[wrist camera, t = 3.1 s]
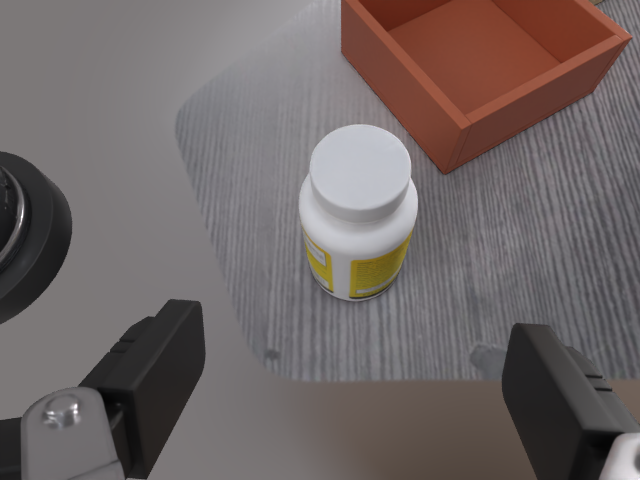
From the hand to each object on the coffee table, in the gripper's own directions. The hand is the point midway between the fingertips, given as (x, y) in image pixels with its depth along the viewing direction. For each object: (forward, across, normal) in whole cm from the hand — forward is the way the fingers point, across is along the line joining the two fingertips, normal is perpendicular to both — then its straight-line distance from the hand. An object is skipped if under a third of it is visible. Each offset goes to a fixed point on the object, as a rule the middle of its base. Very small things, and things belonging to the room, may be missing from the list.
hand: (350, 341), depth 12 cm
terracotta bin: (+25, -7, -6) cm, 26 cm away
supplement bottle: (+14, 0, +4) cm, 15 cm away
